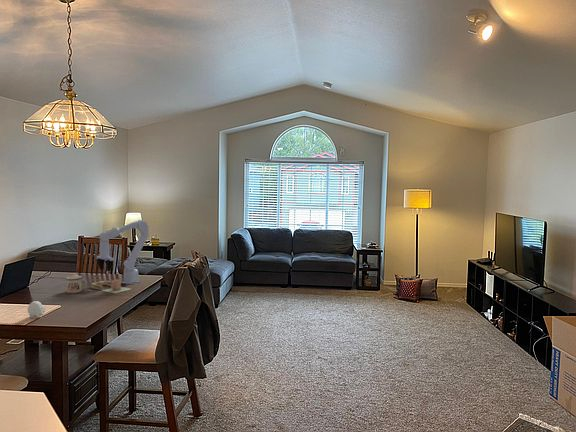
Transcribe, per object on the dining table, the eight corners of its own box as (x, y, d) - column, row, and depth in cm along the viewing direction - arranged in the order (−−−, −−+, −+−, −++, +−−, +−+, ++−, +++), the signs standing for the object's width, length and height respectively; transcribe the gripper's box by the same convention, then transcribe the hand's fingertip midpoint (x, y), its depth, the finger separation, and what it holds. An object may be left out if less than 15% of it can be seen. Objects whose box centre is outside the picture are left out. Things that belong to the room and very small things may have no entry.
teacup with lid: (65, 293, 285) (64, 275, 284) (67, 290, 293) (66, 272, 292) (86, 292, 288) (85, 274, 287) (87, 289, 297) (87, 271, 296)
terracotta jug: (117, 288, 298) (116, 279, 297) (122, 289, 295) (122, 280, 295) (108, 290, 292) (108, 281, 292) (114, 291, 290) (113, 282, 289)
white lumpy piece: (26, 302, 232) (36, 298, 244) (26, 319, 232) (36, 314, 244) (39, 302, 233) (48, 298, 245) (39, 318, 233) (48, 314, 245)
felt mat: (119, 286, 303) (119, 286, 303) (132, 289, 296) (132, 288, 296) (101, 290, 292) (101, 290, 292) (114, 293, 286) (114, 293, 286)
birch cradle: (105, 284, 311) (105, 280, 310) (116, 286, 304) (116, 282, 304) (89, 287, 301) (89, 283, 300) (100, 290, 294) (100, 286, 294)
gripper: (92, 250, 307) (93, 270, 308) (106, 252, 299) (106, 272, 300) (101, 248, 313) (102, 268, 314) (115, 250, 305) (116, 270, 306)
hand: (105, 270), depth 308 cm, fingers open, 7 cm apart
